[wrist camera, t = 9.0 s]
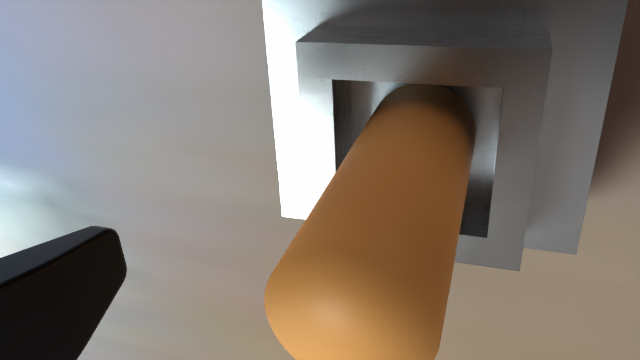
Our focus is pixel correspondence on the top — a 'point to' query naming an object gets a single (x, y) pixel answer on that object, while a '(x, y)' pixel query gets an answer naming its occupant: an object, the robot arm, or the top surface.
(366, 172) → the pin
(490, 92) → the grey toy car
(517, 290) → the top surface
